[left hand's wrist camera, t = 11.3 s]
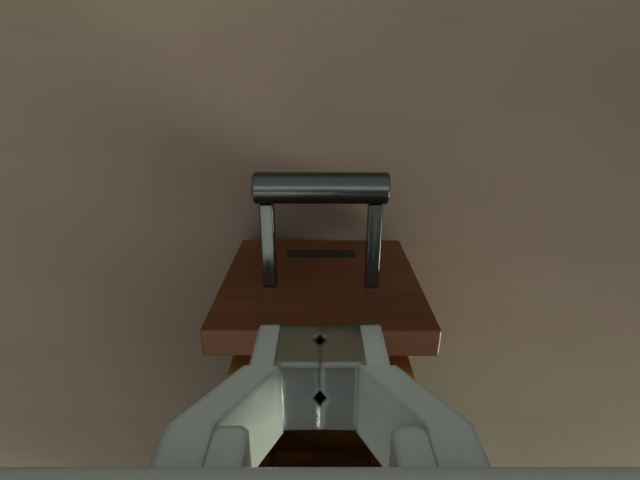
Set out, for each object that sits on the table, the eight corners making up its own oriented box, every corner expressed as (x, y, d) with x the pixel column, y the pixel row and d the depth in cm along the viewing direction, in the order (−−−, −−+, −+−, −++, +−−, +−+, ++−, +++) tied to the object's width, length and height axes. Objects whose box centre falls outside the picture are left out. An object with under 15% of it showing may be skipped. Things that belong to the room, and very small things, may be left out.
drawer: (236, 150, 23) (182, 197, 14) (406, 150, 22) (459, 197, 14) (257, 444, 30) (232, 591, 22) (383, 444, 30) (408, 591, 22)
